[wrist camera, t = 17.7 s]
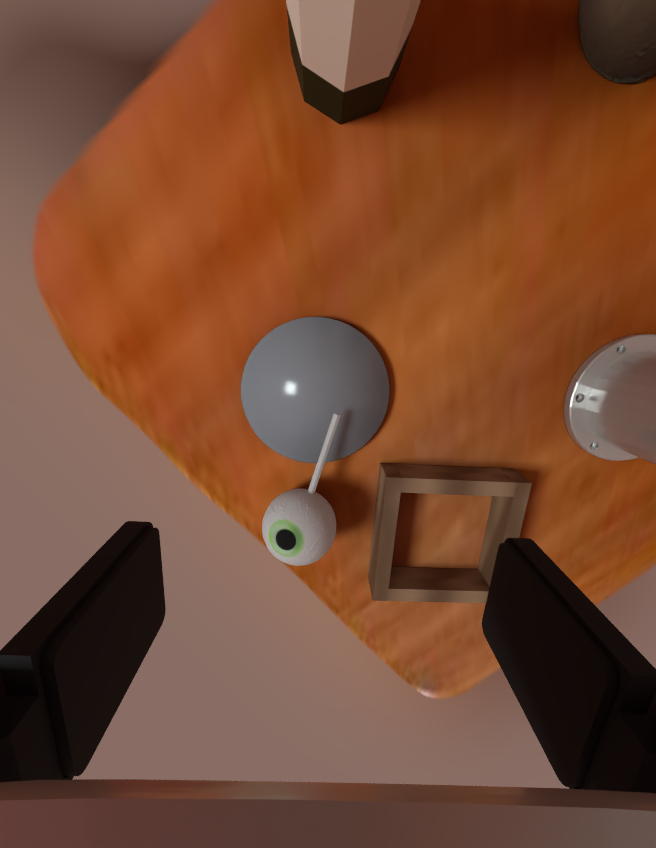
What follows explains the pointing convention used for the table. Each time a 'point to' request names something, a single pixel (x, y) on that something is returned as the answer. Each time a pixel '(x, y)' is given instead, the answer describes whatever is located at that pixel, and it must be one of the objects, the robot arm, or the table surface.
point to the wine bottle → (348, 51)
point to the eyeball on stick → (302, 518)
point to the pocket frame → (436, 479)
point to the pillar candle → (619, 38)
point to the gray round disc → (314, 388)
